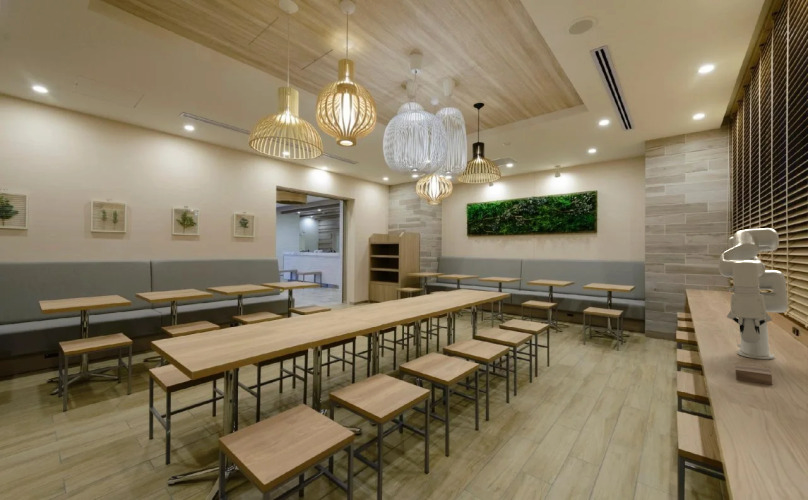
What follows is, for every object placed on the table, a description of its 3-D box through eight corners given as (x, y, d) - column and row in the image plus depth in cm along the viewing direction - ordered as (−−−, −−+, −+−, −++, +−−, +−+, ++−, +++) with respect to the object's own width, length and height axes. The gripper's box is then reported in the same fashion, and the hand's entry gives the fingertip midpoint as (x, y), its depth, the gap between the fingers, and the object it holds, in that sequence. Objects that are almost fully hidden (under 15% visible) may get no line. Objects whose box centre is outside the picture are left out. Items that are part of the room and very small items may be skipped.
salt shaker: (765, 343, 135) (762, 311, 135) (748, 343, 136) (746, 312, 136) (753, 340, 140) (750, 309, 141) (737, 340, 142) (734, 309, 142)
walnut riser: (736, 372, 145) (735, 363, 145) (770, 377, 138) (769, 367, 138) (736, 379, 138) (735, 369, 138) (772, 385, 131) (771, 374, 131)
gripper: (718, 290, 142) (722, 333, 142) (775, 292, 130) (779, 339, 130) (720, 289, 147) (723, 330, 147) (775, 290, 135) (779, 335, 135)
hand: (749, 334), depth 138 cm, fingers closed on salt shaker, 3 cm apart
